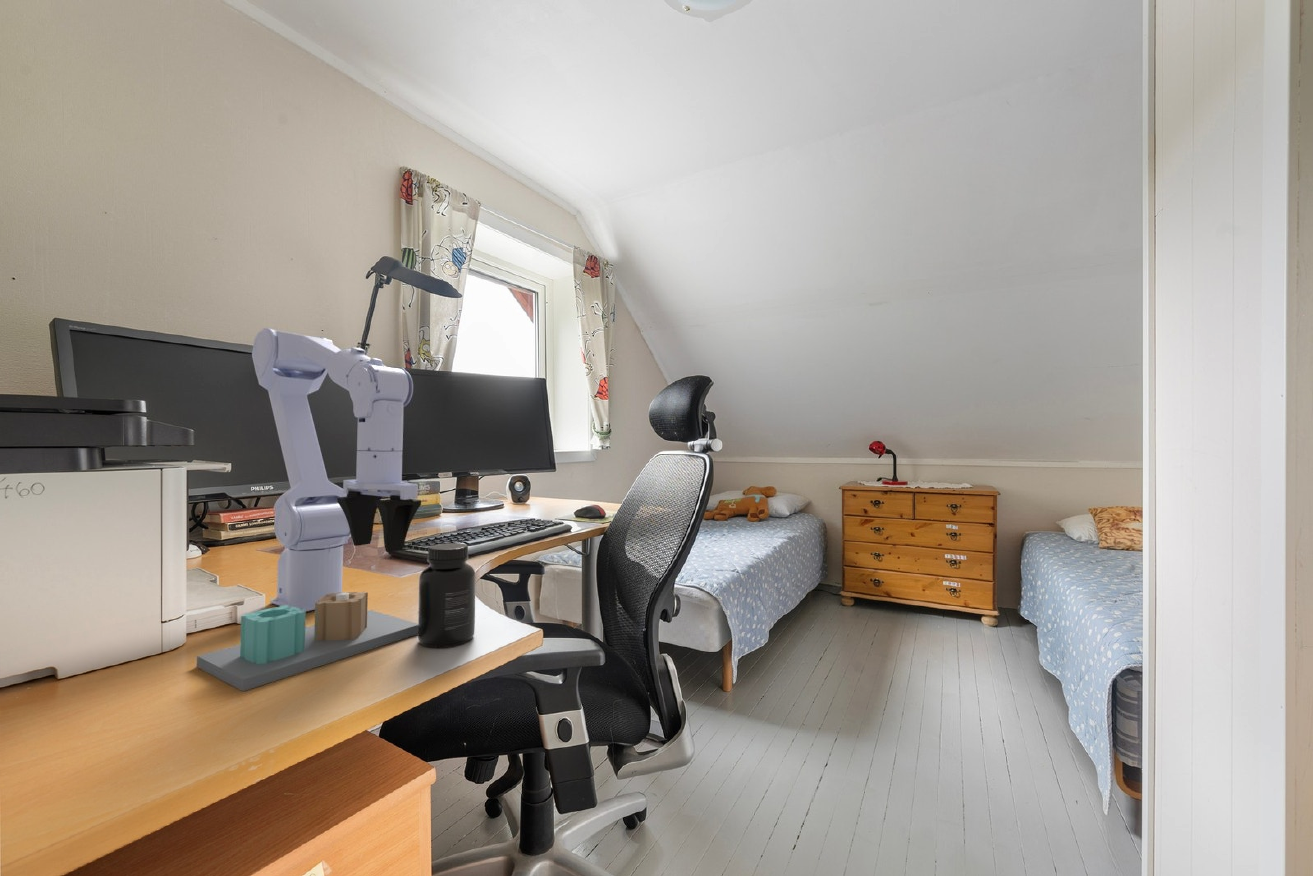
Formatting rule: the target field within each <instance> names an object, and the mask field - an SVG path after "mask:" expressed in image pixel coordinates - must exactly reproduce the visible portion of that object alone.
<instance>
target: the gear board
mask: <svg viewBox="0 0 1313 876" xmlns="http://www.w3.org/2000/svg"><path fill="white" fill-rule="evenodd" d="M368 594H369V593H368V592H367V591H360V592H358V591H352V592H351V591H350V592H348V591H347V592H342V593H336V594H335V593H330V594H326V596H323V597H322V598H321V599H320V600H318V602H316V603H315V610H314V624H312V625H309V626H305V650H304V651H303V652H302V653H295V654H294V655H292V656H288V657H285V658H282V659H279V660H275V661H268V662H267V663H266V664H256V662H251V661H248V660H246V659H244V657H240V644H237V645H233V646H230V647H226V648H223V649H218V650H213V651H210V652H207V653H203V654H200V655H196V668H198V669H200V670H202V671H204V672H205V673H207V674H209V675H211V676H212V677H213V676H214V677H215V678H217V679H219V680H220V681H222V682H224V683H226V684H228V685H230V686H232V687H233V688H235V689H238V690H239V691H241V692H246V691H249V690H252V689H254V688H259V687H261V686H264V685H266V684H267V685H268V684H270V683H272V682H276V681H279V680H282V679H286V678H288V677H291V676H294V675H296V674H300V673H303V672H306V671H310V670H312V669H316V668H319V667H321V666H325V665H327V664H331V663H334V662H337V661H339V660H343V659H346V658H349V657H352V656H354V655H357V654H360V653H363V652H368V651H370V650H374V649H376V648H380V647H382V646H385V645H388V644H391V643H395V642H397V641H400V640H403V639H407V638H410V637H413V636H416V635H418V623H417V622H414V621H410V620H407V619H404V618H400V617H396V616H393V615H389V614H386V613H382V612H379V611H376V610H372V609H370V610H368V599H369V597H368V596H369V595H368ZM409 636H410V637H409ZM394 641H395V642H394Z"/></svg>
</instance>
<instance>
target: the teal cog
mask: <svg viewBox="0 0 1313 876" xmlns="http://www.w3.org/2000/svg"><path fill="white" fill-rule="evenodd" d="M306 615H307V611H306V610H305V611H302V609H299V608H295V607H289V605H287V606H278V607H275V606H274V607H269V608H265V609H261V610H257V611H252V612H251V613H244V614H242V616H240V644H239V645H240V657H244V659H246V660H248V661H251V662H256V664H266V663H267V662H268V661H275V660H279V659H282V658H285V657H288V656H292V655H294V654H295V653H302V652H303V651H304V650H305V627H306Z"/></svg>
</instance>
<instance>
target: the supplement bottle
mask: <svg viewBox="0 0 1313 876" xmlns="http://www.w3.org/2000/svg"><path fill="white" fill-rule="evenodd" d="M468 548H469V546H468V545H467V544H465V543H459V542H458V543H455V542H454V543H452V542H451V543H438V544H434V545H431V546H430V545H429V547H428V550H427V556H428V557H427V563H429V566H427V567H425V568H424V569H423V570H422V571H421V572H420V575H419V578H418V619H417V620H418V621H417V622H418V634H417V636H418V637H417V638H418V642H419V643H420V644H421V645H423V646H424V647H427V648H438V649H441V648H449V647H456V646H460V645H462V644H465V643H467V642H469V641H470V640H472V638H473V637H474V636H475V631H476V629H475V627H476V625H475V624H476V579H477V578H476V577H477V576H476V570H475V569H474V568H473V567H472V566H471V565H470V564H468V563H467V561H468V560H469V555H468V554H469V549H468Z"/></svg>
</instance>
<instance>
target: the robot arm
mask: <svg viewBox="0 0 1313 876" xmlns="http://www.w3.org/2000/svg"><path fill="white" fill-rule="evenodd" d="M366 352H367V351H366V350H365V349H363V348H361V347H356V346H355V347H354V346H352V347H350V348H344V349H340V347H337V346H336V345H335V344H334V343H333V340H331V339H328V338H326V337H321V336H320V337H316V336H312V335H311V336H310V335H305V334H299V333H293V332H288V331H287V332H286V331H281V330H277V329H276V330H275V329H273V328H269V327H264V328H262V329H260V331H258V332H257V334H256V336H255V338H254V341H253V346H252V352H251V357H252V362H253V365H254V371H255V375H256V377H257V381H258V385H259V386H260V387H262V388H263V389H264V390H267V392H268V397H269V401H270V404H271V406H270V407H271V409H272V413H273V417H274V423H275V426H276V430H277V435H278V436H277V437H278V439H279V444H280V447H281V452H282V457H283V461H284V465H285V469H286V473H287V478H288V482H289V489H288V490H286V491H285V492H283V493H282V495H280V496H279V497H278V498H277V500H276V501H275V502H274V505H273V511H274V522H273V523H274V525H273V531H274V534H275V537H276V539H277V542H278V543H280V545H282V546H283V548H285V549H284V550H283V551H282V552H281V554H280V555H279V558H278V560H277V573H276V574H277V577H276V579H277V580H276V597H275V598H272V599H269V602H270V603H271V604H274V605H276V606H278V607H280V606H287V605H289V607H295V608H299V609H302V611H305V610H306V612H310V611H315V603H316V602H318V600H320V599H321V598H322V597H323V596H326V594H330V593H335V594H336V593H343V569H344V568H343V561H344V544H348V543H349V539H350V538H351V539H352V543H353V546H355V547H360V546H363V545H364V546H365V545H371V542H372V537H373V532H374V524H375V523H374V522H375V517H376V513H377V510H378V513H379V516H380V518H381V519H380V520H381V524H382V531H383V545H384V550H385V552H387V553H392V552H397V551H402V550H403V549H404V545H405V541H406V538H407V535H408V531H409V529H410V526H411V523H412V521H413V519H414V516H415V515H416V513H417V512H418V510H419V508H420V507H421V505H422V500H421V499H418V498H419V497H418V494H419V491H418V490H419V485H418V484H417V483H409V482H405V481H403V476H402V475H403V447H404V445H403V444H404V443H403V441H404V437H403V435H404V407H406V406H407V405H408V404H410V402H411V399H412V397H413V395H414V394H413V393H414V382H413V378H412V376H411V374H410V373H409V371H407V370H406V369H405V368H404V367H391V366H390V367H389V366H386V365H385V364H383V360H382V359H379V358H376V357H369V356H368V355H366ZM327 375H328V377H329V378H330V380H332V382H334V383H335V384H336V385H338V386H340V387H341V388H343V389H345V390H346V391H348V392H349V396H350V398H351V401H352V406H353V408H352V409H353V414H354V417H355V418H356V419H357V432H356V434H357V436H356V437H357V438H356V467H355V468H356V470H355V471H356V474H355V475H356V478H355V479H343V481H342V483H343V485H342V486H343V487H340V486H339V485H337V484H335V483H333V482H331V481H330V480H329V479H328V475H327V471H326V468H325V467H326V466H325V463H324V459H323V456H322V451H321V447H320V444H319V440H318V435H317V431H316V428H315V427H316V426H315V423H314V420H313V415H312V412H311V408H310V404H309V400H308V395H310V394H312V393H314V392H317V391H318V390H320V388H321V387H322V384H323V382H324V380H325V379H326V376H327ZM383 497H385V498H388V499H382V498H383Z"/></svg>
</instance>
